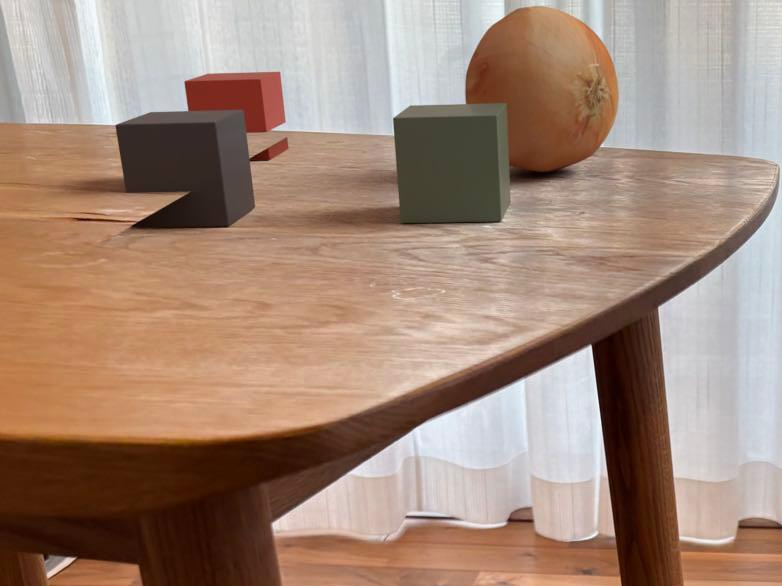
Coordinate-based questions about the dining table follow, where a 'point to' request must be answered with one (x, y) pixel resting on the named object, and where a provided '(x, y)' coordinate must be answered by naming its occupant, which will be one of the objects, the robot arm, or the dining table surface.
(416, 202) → the green block
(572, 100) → the onion
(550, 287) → the dining table surface
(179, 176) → the charcoal block
